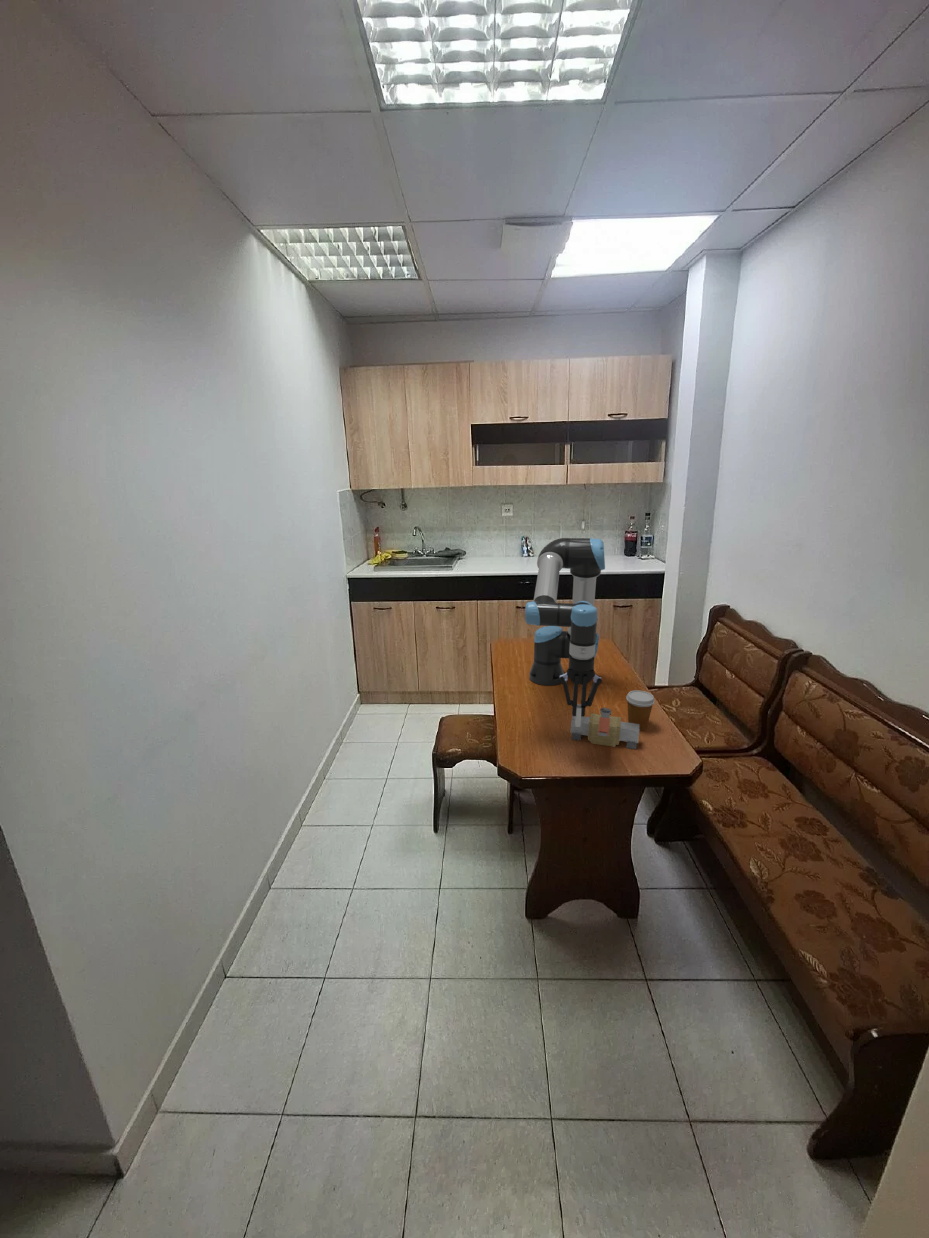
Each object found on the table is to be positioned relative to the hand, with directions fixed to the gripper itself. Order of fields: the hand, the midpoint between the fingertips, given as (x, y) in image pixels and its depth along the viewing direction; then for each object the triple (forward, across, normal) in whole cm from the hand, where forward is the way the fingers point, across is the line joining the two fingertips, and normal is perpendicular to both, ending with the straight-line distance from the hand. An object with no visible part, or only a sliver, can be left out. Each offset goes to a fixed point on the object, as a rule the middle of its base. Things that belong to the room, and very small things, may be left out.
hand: (577, 724), depth 154 cm
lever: (+1, +9, +4) cm, 10 cm away
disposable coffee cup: (+11, +23, +21) cm, 33 cm away
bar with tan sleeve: (+11, +10, +10) cm, 18 cm away
